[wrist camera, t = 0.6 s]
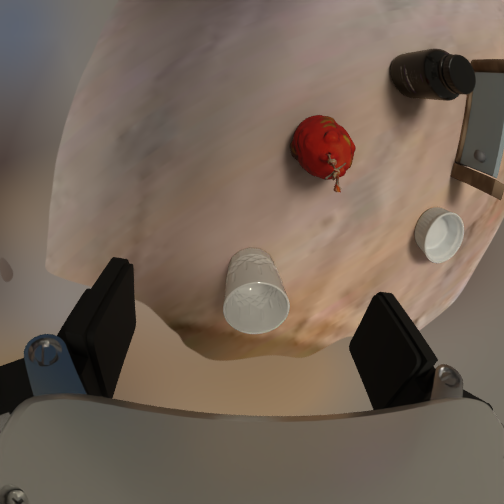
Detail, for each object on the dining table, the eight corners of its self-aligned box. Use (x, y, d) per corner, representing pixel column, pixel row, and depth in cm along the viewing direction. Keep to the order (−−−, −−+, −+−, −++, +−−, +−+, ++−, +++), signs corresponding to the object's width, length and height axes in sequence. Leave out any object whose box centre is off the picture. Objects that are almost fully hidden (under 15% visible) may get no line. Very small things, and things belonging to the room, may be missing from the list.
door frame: (470, 56, 27) (525, 56, 16) (480, 64, 28) (535, 67, 16) (450, 176, 37) (505, 202, 26) (461, 180, 38) (514, 207, 26)
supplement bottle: (381, 78, 31) (433, 73, 20) (399, 45, 28) (451, 33, 17) (415, 107, 32) (471, 114, 22) (432, 75, 30) (487, 74, 19)
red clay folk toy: (345, 163, 36) (404, 194, 23) (298, 179, 37) (335, 219, 24) (329, 109, 33) (385, 111, 19) (278, 125, 33) (308, 133, 20)
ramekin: (414, 259, 44) (427, 272, 40) (407, 215, 40) (422, 225, 36) (451, 239, 43) (464, 250, 39) (447, 196, 39) (462, 204, 35)
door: (469, 68, 28) (502, 68, 21) (479, 75, 28) (512, 77, 21) (454, 160, 35) (487, 173, 28) (464, 165, 36) (496, 178, 29)
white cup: (234, 295, 45) (235, 340, 36) (217, 252, 41) (213, 293, 32) (283, 281, 44) (295, 324, 35) (270, 236, 40) (281, 274, 31)
